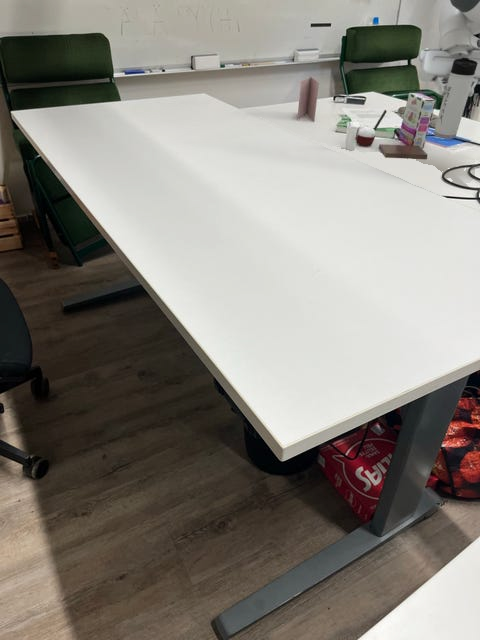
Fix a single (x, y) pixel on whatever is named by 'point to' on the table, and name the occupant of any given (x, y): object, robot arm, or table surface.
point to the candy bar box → (416, 119)
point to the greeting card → (308, 98)
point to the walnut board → (402, 151)
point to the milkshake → (352, 135)
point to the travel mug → (455, 98)
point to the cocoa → (368, 133)
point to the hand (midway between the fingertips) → (456, 94)
